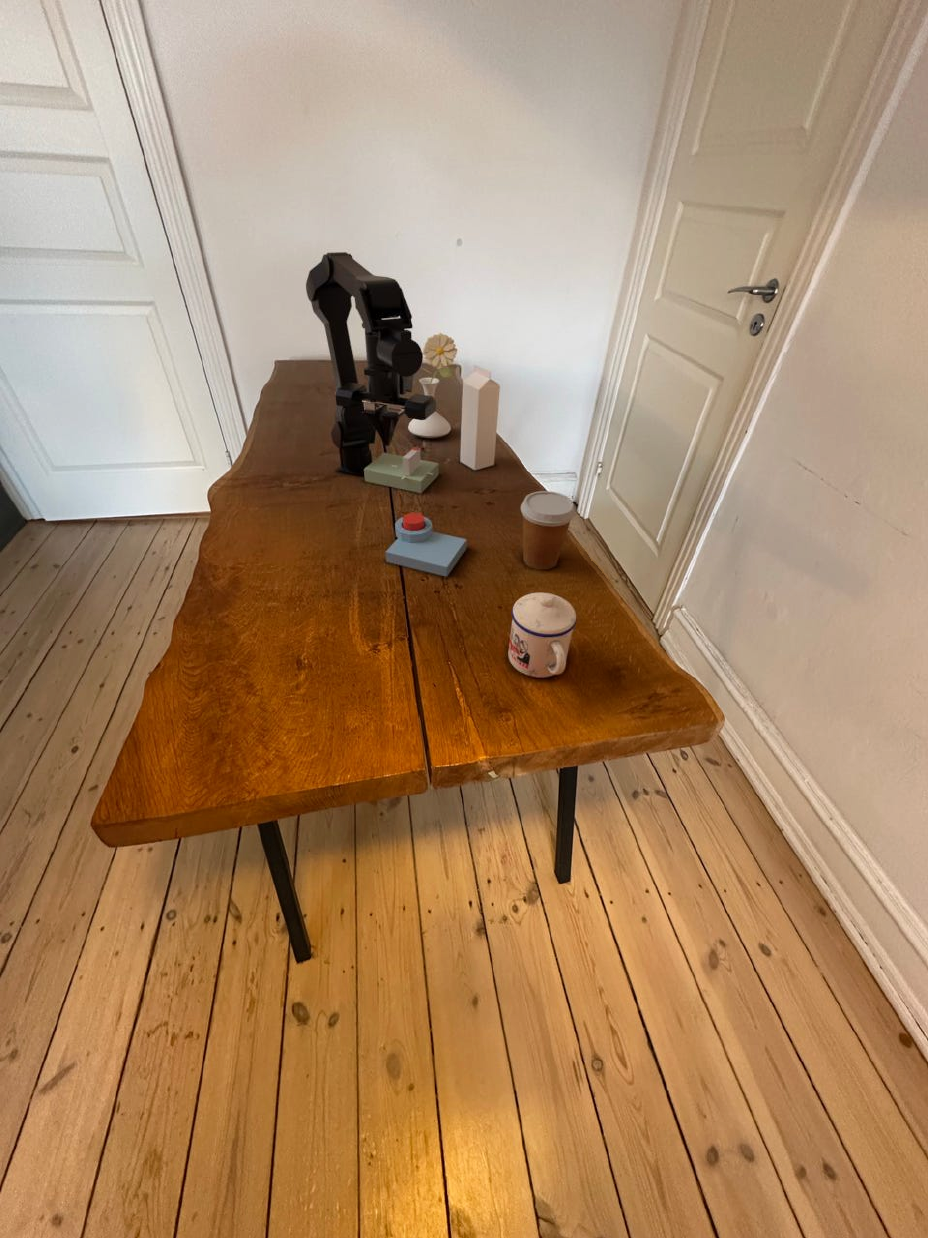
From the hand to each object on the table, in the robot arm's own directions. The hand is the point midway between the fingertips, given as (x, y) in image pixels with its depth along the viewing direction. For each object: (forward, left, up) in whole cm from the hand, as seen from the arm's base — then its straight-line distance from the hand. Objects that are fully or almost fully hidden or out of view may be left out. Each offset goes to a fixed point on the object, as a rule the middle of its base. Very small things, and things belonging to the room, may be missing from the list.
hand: (387, 444), depth 108 cm
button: (+11, -12, -9) cm, 19 cm away
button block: (+14, -14, -13) cm, 24 cm away
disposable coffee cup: (+35, -8, -13) cm, 38 cm away
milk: (+10, +27, -13) cm, 32 cm away
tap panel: (-3, +12, -13) cm, 18 cm away
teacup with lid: (+42, -35, -13) cm, 56 cm away
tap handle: (0, +11, -10) cm, 15 cm away
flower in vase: (-7, +39, -13) cm, 42 cm away
